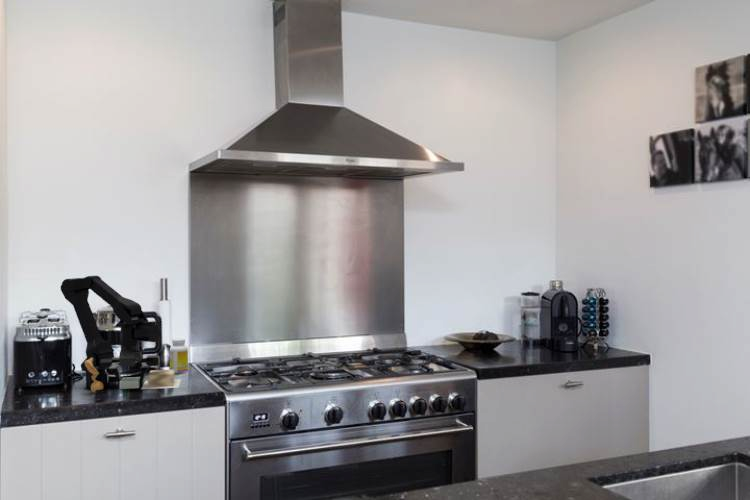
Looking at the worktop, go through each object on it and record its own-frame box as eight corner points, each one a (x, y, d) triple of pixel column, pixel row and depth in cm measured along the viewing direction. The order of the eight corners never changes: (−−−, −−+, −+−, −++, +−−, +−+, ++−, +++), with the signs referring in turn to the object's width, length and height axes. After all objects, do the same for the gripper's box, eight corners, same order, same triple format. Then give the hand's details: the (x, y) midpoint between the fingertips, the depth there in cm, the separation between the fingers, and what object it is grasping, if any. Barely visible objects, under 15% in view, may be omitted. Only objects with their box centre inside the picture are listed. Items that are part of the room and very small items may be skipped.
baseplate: (140, 393, 237) (140, 389, 237) (145, 384, 250) (145, 380, 250) (178, 392, 239) (178, 387, 239) (181, 383, 253) (181, 379, 253)
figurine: (108, 394, 236) (108, 357, 235) (90, 397, 232) (89, 360, 231) (98, 390, 242) (97, 354, 242) (80, 393, 238) (79, 356, 237)
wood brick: (148, 386, 240) (148, 375, 240) (150, 382, 248) (150, 370, 248) (172, 385, 242) (172, 374, 242) (174, 381, 250) (174, 369, 249)
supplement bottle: (191, 372, 274) (191, 338, 273) (182, 375, 267) (182, 341, 267) (175, 371, 275) (175, 337, 275) (166, 374, 269) (166, 340, 268)
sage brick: (119, 393, 237) (119, 381, 237) (122, 389, 243) (122, 377, 243) (138, 392, 238) (138, 380, 238) (141, 388, 244) (141, 377, 244)
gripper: (96, 345, 231) (96, 393, 231) (156, 343, 234) (157, 390, 235) (102, 340, 242) (102, 386, 242) (159, 338, 245) (160, 384, 246)
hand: (130, 387), depth 241 cm, fingers closed on sage brick, 6 cm apart
